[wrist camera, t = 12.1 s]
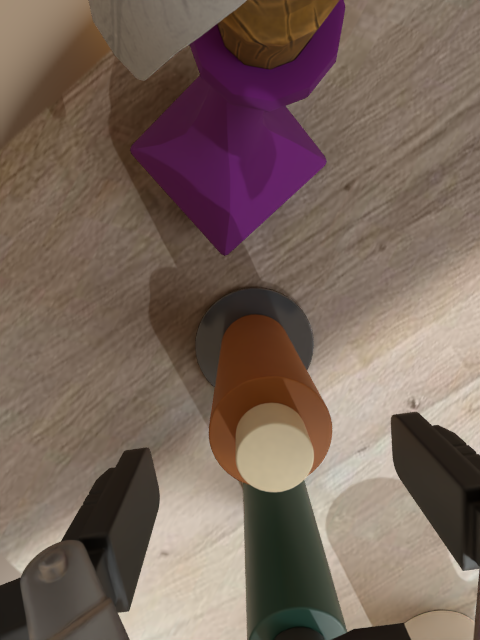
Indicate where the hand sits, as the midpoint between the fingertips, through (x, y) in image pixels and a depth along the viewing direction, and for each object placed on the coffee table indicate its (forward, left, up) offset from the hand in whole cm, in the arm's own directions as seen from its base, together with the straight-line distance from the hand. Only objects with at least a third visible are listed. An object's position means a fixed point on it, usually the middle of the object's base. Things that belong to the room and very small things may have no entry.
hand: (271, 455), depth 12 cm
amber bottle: (0, 0, -13) cm, 13 cm away
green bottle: (+4, -10, -13) cm, 17 cm away
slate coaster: (0, 0, -13) cm, 13 cm away
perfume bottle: (-4, +11, -13) cm, 17 cm away
